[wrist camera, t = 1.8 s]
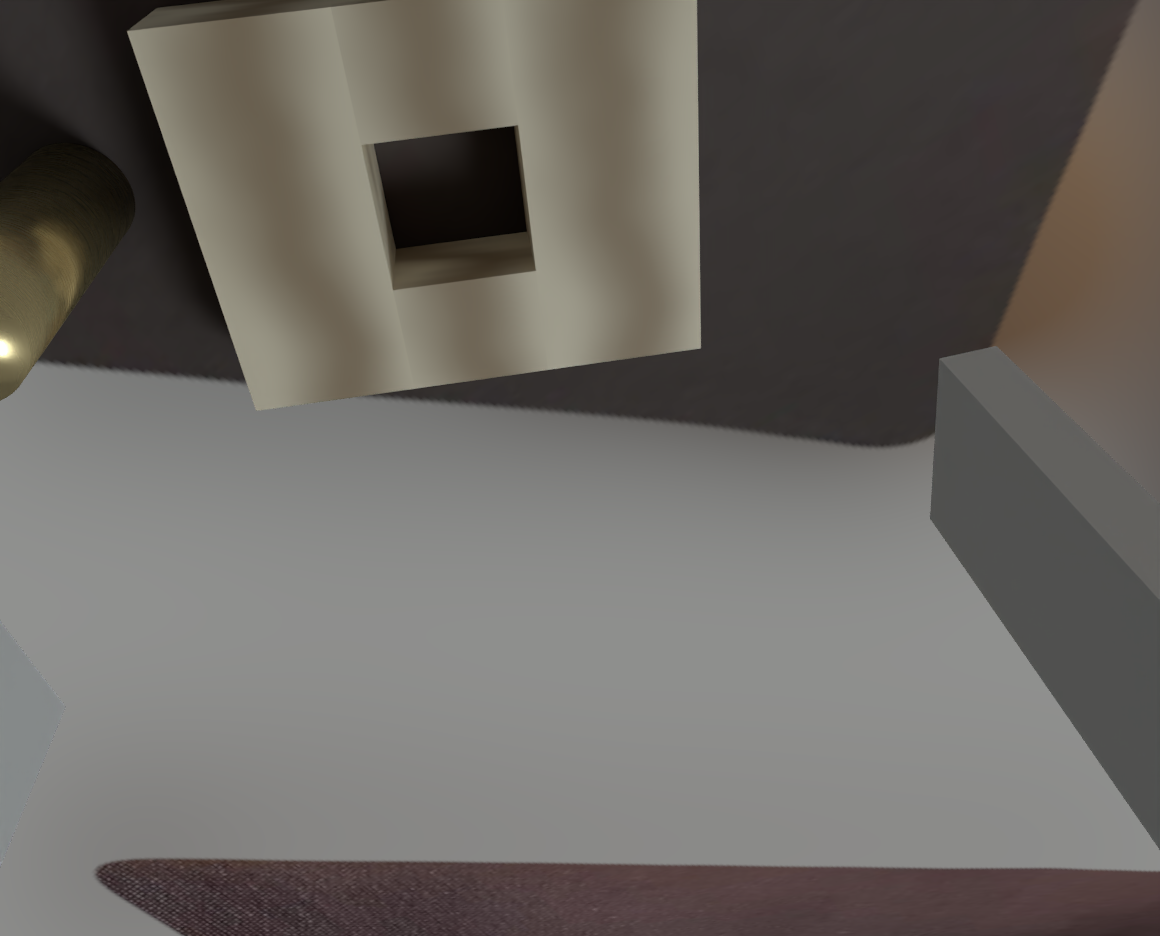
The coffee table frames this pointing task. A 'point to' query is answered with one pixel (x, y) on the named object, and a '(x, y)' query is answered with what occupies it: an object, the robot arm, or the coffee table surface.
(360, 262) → the socket block
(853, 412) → the coffee table surface
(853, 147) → the coffee table surface
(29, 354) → the round bit
